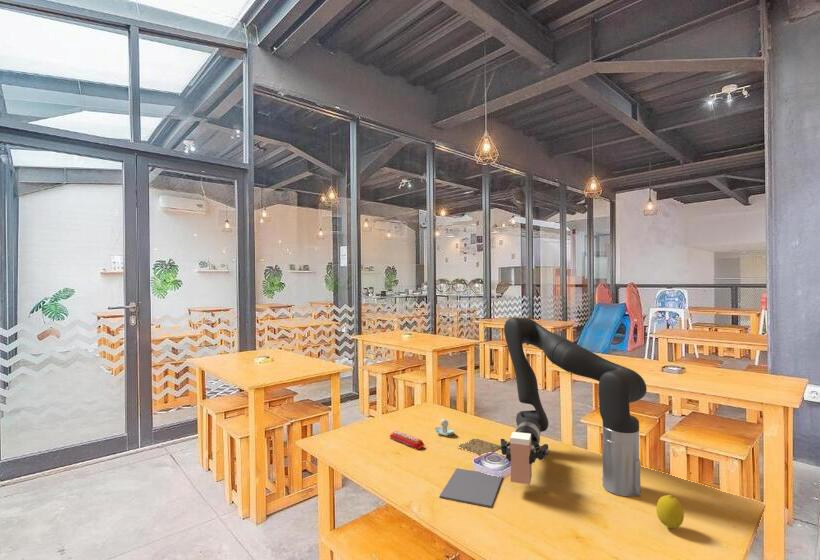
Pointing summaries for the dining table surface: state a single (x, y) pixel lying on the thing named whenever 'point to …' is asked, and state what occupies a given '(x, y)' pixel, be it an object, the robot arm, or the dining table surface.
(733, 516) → the dining table surface
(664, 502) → the lemon
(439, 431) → the pacifier
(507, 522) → the dining table surface
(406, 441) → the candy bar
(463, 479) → the mat
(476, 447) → the mottled brown square tile
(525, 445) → the block
